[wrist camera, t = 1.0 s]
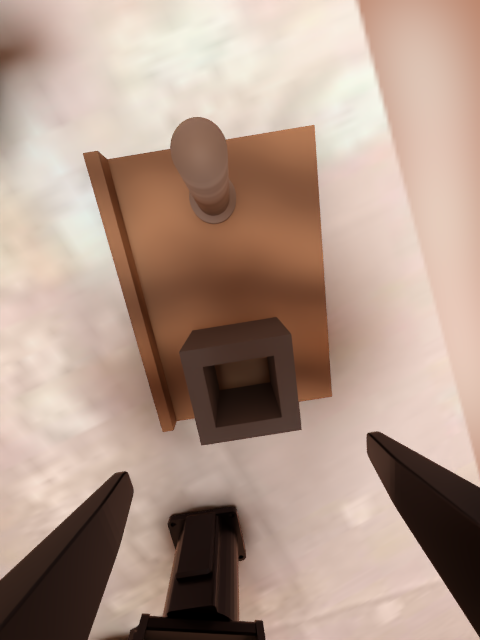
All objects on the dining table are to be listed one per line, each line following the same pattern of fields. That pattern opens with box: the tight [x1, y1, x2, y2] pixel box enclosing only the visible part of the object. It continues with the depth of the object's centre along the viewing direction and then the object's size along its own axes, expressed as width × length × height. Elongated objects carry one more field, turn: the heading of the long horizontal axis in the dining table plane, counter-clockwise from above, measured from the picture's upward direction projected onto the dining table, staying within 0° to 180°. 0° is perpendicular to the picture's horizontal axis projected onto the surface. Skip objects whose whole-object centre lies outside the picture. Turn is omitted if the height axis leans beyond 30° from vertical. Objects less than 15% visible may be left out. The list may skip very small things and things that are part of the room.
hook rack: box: [83, 117, 332, 432], centre depth 13 cm, size 18×13×7 cm
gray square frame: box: [179, 317, 302, 445], centre depth 14 cm, size 6×6×4 cm
